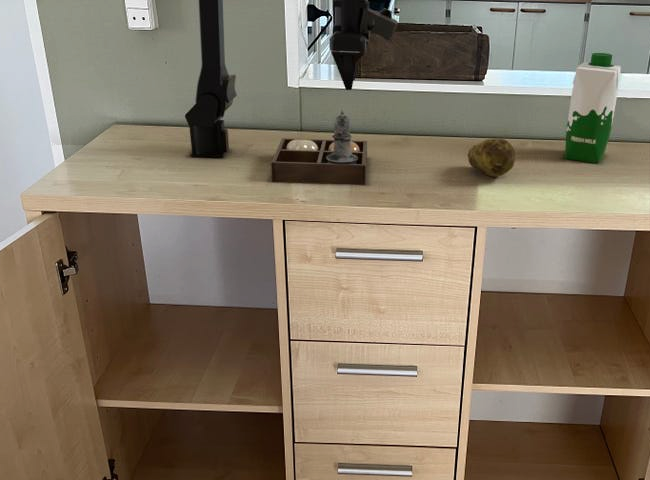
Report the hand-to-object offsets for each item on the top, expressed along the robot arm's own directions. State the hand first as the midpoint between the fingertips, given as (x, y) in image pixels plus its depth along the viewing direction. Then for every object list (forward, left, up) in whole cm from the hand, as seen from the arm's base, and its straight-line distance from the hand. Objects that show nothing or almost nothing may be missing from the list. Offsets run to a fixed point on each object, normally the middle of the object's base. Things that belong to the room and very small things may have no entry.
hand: (350, 84), depth 144 cm
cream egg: (-9, -3, -14) cm, 17 cm away
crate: (-5, -7, -14) cm, 17 cm away
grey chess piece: (-1, -11, -15) cm, 18 cm away
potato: (+27, -8, -15) cm, 32 cm away
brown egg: (-1, -3, -14) cm, 15 cm away
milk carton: (+49, +8, -15) cm, 52 cm away
